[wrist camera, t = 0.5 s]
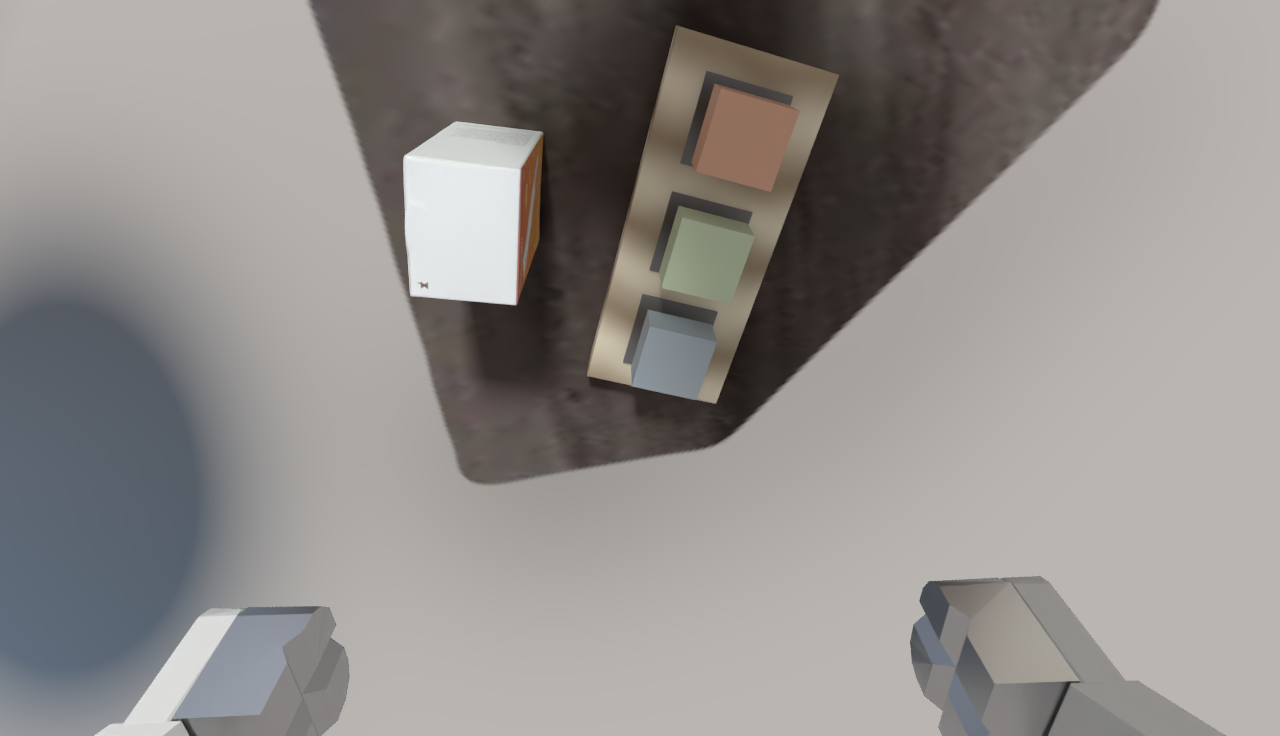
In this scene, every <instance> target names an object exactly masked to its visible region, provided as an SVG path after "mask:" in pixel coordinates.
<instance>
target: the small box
mask: <svg viewBox="0 0 1280 736" xmlns="http://www.w3.org/2000/svg"><path fill="white" fill-rule="evenodd" d="M543 136H544V134H543V132H540V131H532V130H523V129H515V128H506V127H498V126H490V125H481V124H473V123H465V122H454V123H453V124H451V125H450V126H448V127H447V128H445V129H444V130H442V131H441V132H439V133H438V134H436V135H435V136H434V137H432V138H430V139H429V140H427V141H426V142H424V143H423V144H421V145H420V146H419V147H417V148H416V149H414V150H412V151H411V152H410V153H408V154H406V155H405V156H404V158H403V172H404V199H405V237H406V248H407V255H408V271H409V285H410V295H411V296H412V297H428V298H440V299H451V300H461V301H473V302H484V303H495V304H507V305H517V304H518V300H519V297H520V294H521V291H522V288H523V285H524V282H525V279H526V277H527V274H528V271H529V268H530V265H531V262H532V259H533V256H534V254H535V251H536V249H537V246H538V243H539V239H540V232H539V222H540V190H541V170H542V152H543Z"/></svg>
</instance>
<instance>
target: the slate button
mask: <svg viewBox="0 0 1280 736" xmlns="http://www.w3.org/2000/svg"><path fill="white" fill-rule="evenodd" d="M716 344H717V340H716V337H715V333H714V330H713V327H712V324H708V323H703V322H699V321H695V320H690V319H686V318H682V317H678V316H673V315H669V314H665V313H661V312H656V311H652V310H648V311H647V314H646V318H645V321H644V325H643V328H642V331H641V335H640V338H639V342H638V345H637V348H636V352H635V355H634V359H633V362H632V365H631V380H632V387H637V388H642V389H646V390H651V391H656V392H660V393H665V394H669V395H674V396H679V397H683V398H688V399H693V400H697V397H698V394H699V392H700V389H701V386H702V383H703V380H704V378H705V375H706V372H707V369H708V366H709V364H710V361H711V358H712V355H713V352H714V350H715V347H716Z"/></svg>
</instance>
